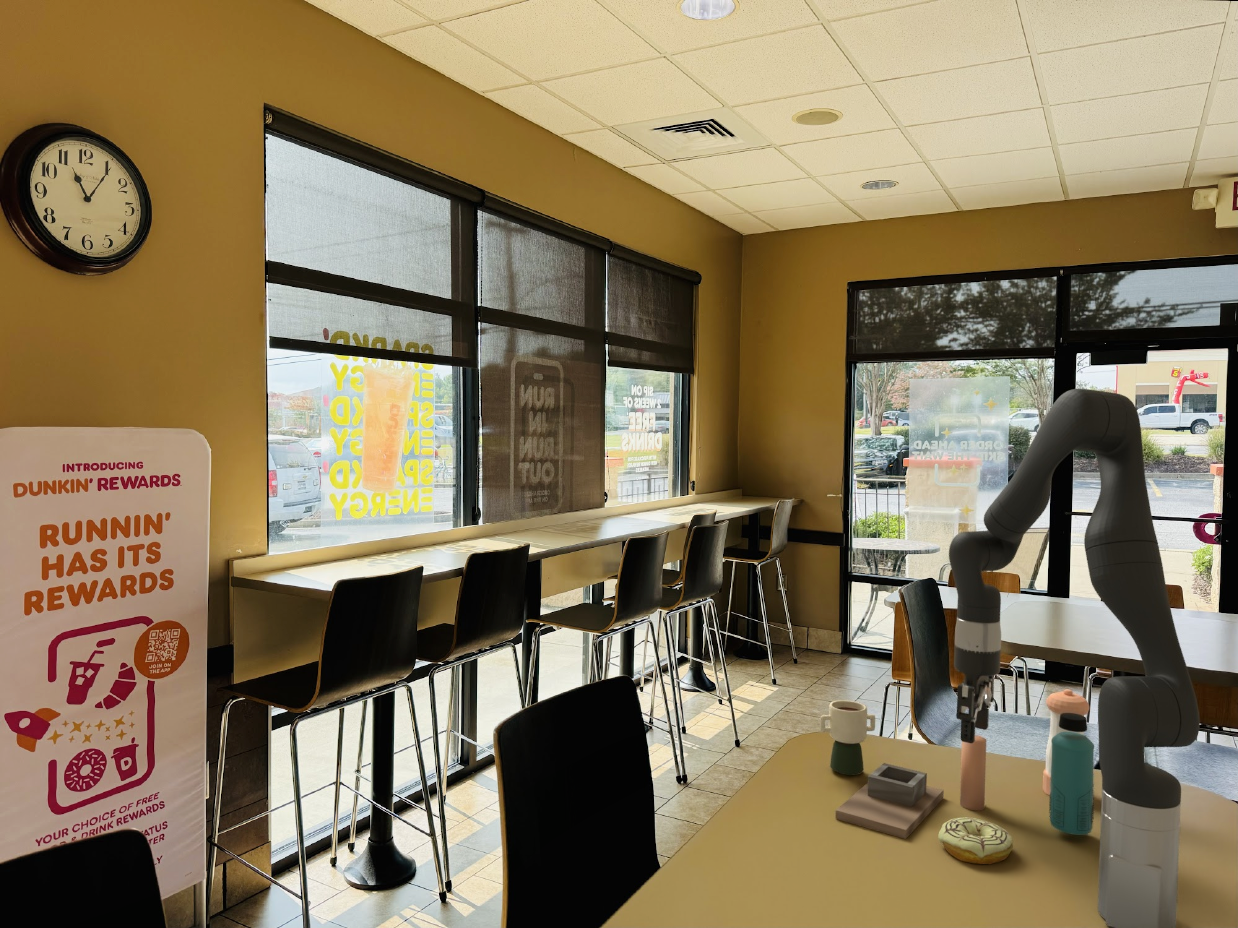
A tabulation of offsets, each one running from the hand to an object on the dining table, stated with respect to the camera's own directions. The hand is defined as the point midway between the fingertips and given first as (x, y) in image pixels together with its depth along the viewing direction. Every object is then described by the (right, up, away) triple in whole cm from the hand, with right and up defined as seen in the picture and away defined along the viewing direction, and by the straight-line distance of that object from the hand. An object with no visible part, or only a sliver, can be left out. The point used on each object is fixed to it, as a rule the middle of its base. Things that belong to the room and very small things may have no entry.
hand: (974, 734), depth 157 cm
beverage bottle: (+11, -13, -11) cm, 21 cm away
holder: (-15, -13, -1) cm, 20 cm away
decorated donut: (-6, -14, -16) cm, 22 cm away
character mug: (-19, -12, +15) cm, 27 cm away
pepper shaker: (+19, -13, +6) cm, 24 cm away
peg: (0, -13, 0) cm, 13 cm away
